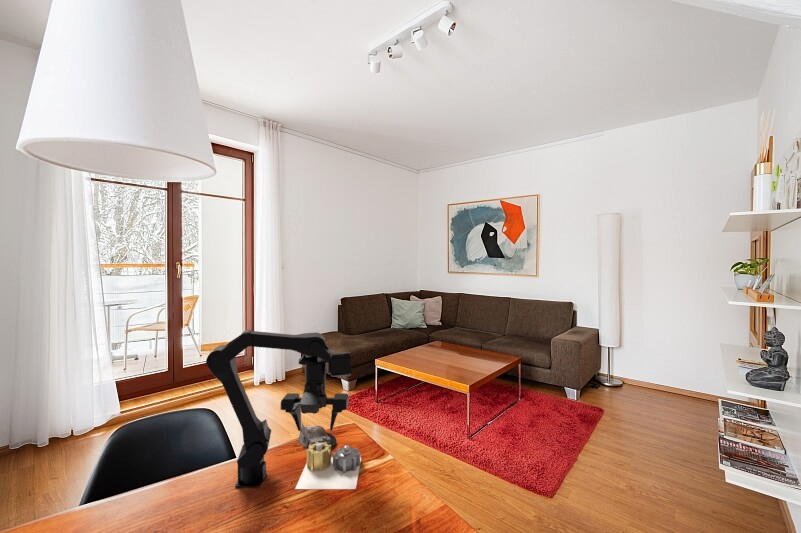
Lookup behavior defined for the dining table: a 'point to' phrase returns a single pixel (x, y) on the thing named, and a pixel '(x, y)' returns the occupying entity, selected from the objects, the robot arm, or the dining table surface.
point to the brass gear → (318, 457)
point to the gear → (346, 459)
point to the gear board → (327, 477)
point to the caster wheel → (315, 436)
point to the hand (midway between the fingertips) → (315, 430)
